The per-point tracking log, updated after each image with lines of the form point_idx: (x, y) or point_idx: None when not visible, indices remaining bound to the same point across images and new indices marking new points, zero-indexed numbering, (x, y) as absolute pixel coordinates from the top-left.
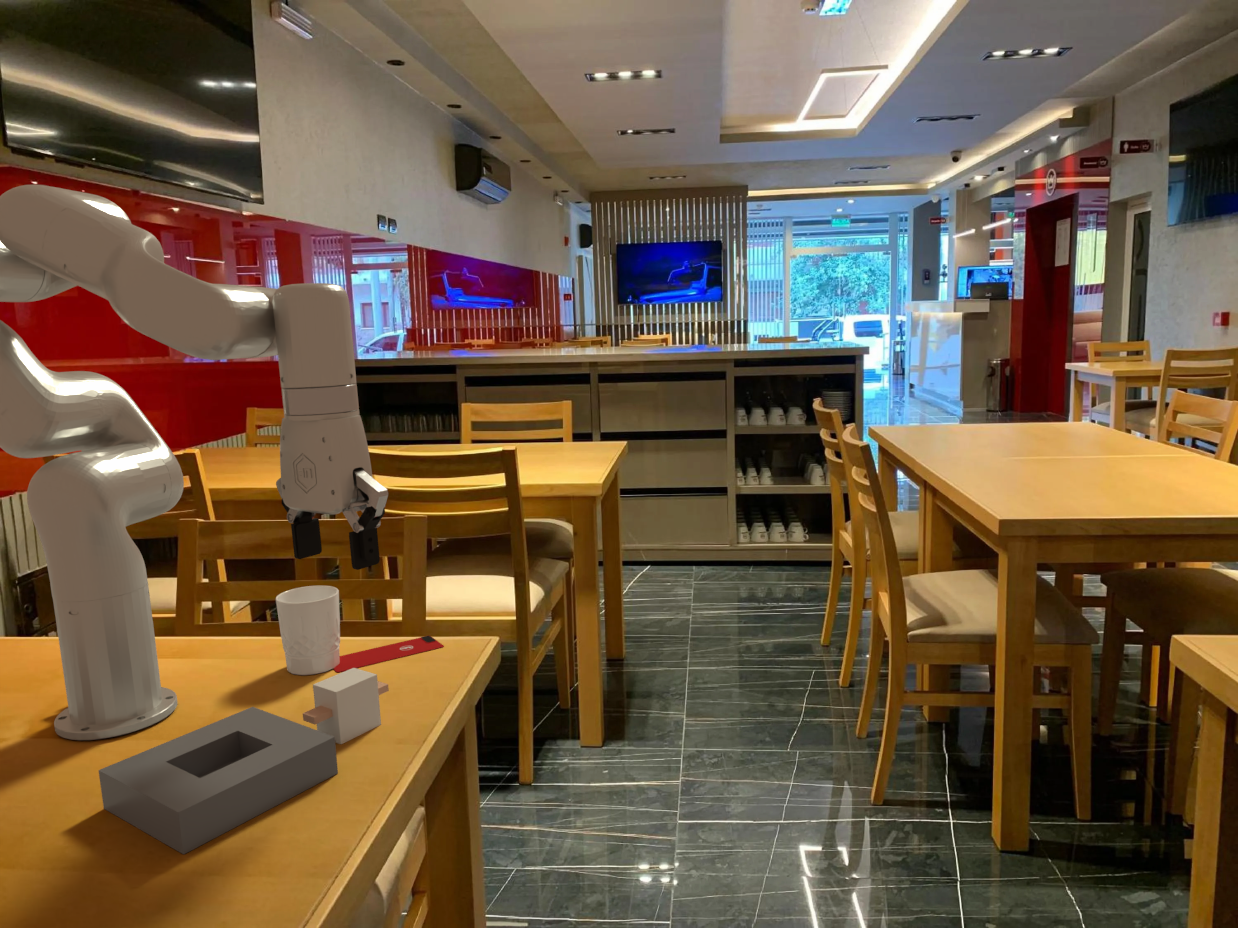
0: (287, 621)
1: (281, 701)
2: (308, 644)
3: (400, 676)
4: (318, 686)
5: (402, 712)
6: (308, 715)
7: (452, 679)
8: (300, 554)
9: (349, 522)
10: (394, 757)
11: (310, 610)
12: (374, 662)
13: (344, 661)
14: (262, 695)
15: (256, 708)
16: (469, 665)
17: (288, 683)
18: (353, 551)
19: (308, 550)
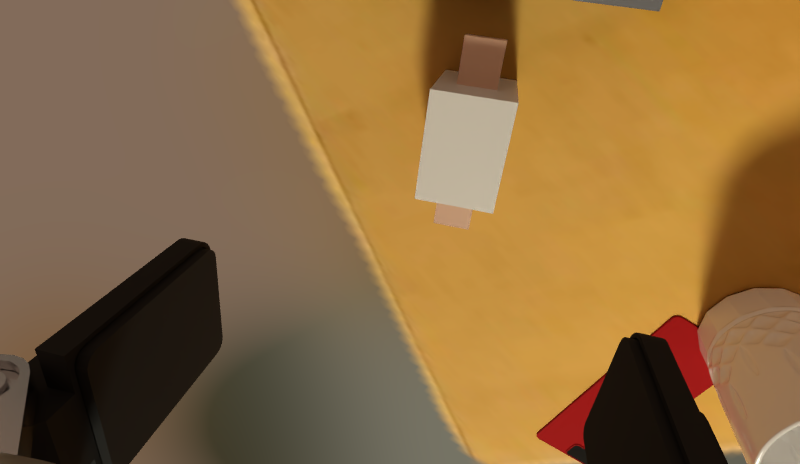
0: None
1: (713, 176)
2: (759, 335)
3: (533, 326)
4: (496, 99)
5: (428, 211)
6: (485, 37)
7: (434, 334)
8: (626, 352)
9: (14, 421)
10: (320, 67)
11: (787, 402)
12: None
13: (695, 357)
14: (786, 186)
15: (639, 6)
16: (443, 382)
17: (760, 250)
18: (126, 279)
19: (610, 397)
